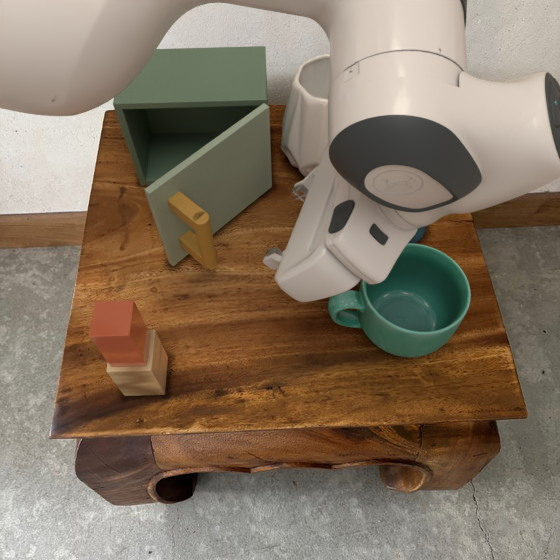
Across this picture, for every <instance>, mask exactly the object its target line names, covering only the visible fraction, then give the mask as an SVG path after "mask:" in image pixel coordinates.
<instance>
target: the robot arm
mask: <svg viewBox="0 0 560 560" xmlns="http://www.w3.org/2000/svg"><path fill="white" fill-rule="evenodd" d="M207 4H228V5H234V6H240V7H245V8H252V9H257V10H262V11H268V12H274V13H280V14H286V15H291V16H297V17H303V18H307V19H310V20H312V21H314V22H315V23H316V24H318V26H320V28H321V29H322V30H323V32H324V34H325V35H326V38H327V40H328V43H329V54H330V90H329V94H328V143H327V146H326V148H325V151H324V153H323V156H322V158H321V161H320V163H319V166H317V167H316V168H315V169H314V170H313V171H312V172H311V173H309V174H308V175H307V176H306V177H305V176H304V178H303V179H302V180H300V181H298V182H296V183H294V185H293V187H292V190H291V193H290V197H292V198H293V199H294V201H296V202H297V203H298V204H302V203H303V204H302V207H301V209H300V211H299V214H298V216H297V219H296V222H295V224H294V227H293V229H292V232H291V235H290V237H289V239H288V243H287V244H286V247H285V249H284V250H283V251H282V250H281V249H280V248H278V247H277V246H274V247H272V248H268V249H267V250H266V252H265V254H264V257H263V259H262V264H264V265H265V266H266V267H267V268H269V269H270V270H273V271H276V272H275V275H274V281H275V283H276V284H277V286H278V287H279V288H280V289H281V290H282V291H283V292H284V293H285V294H286V295H288V296H289V297H290V298H292V299H294V300H296V301H297V302H299V303H309V302H314V301H319V300H323V299H329V298H330V297H331V296H335V295H338V294H341V293H343V292H346V291H348V290H352V289H353V288H354V287H355V286H357V285H358V284H360V282H361V280H364V281H365V282H366V283H368V284H377V283H380V282H382V281H384V280H385V279H386V277H387V276H388V275H389V273H390V271H391V269H392V267H393V266H394V264H395V262H396V260H397V259H398V257H399V255H400V254H401V252H402V251H403V249H404V248H405V247H406V245H407V244H408V243H409V241H410V240H411V239H412V238H413V237H414V235H415V234H416V232H417V230H418V228H421V227H424V226H426V227H427V226H429V225H432V224H434V223H436V222H437V221H439V220H440V219H441V218H443V217H445V216H449V215H454V214H456V215H458V214H459V215H460V214H461V215H464V214H466V215H467V214H471V213H475V212H478V211H481V210H485V209H488V208H491V207H494V206H497V205H501V204H503V203H507V202H508V201H512V200H514V199H517V198H520V197H522V196H525V195H527V194H529V193H531V192H534V191H536V190H538V189H540V188H542V187H544V186H546V185H548V184H550V183H552V182H554V181H555V180H557V179H560V83H559V81H558V79H556V78H555V77H554V76H553V75H552V73H550V72H549V71H546V70H543V71H542V70H541V71H535V72H532V73H528V74H523V75H520V76H517V77H514V78H511V79H507V80H504V81H502V82H501V81H493V80H486V79H482V78H479V77H476V76H474V75H472V74H469V71H468V59H467V42H466V27H467V26H466V25H467V13H468V0H0V109H3V110H7V111H11V112H16V113H22V114H27V115H34V116H46V117H74V116H77V115H80V114H81V115H82V114H84V113H87V112H89V111H92V110H94V109H96V108H99V107H101V106H103V105H104V104H106V103H108V102H109V101H111V100H114V97H115V96H117V95H118V94H119V93H121V92H122V91H123V90H124V89H125V88H126V87H128V86H129V85H130V83H131V82H132V81H133V80H134V79H135V78H136V77H137V76H138V75H139V74H140V72H141V71H142V70H143V69H144V67H145V66H146V64H147V63H148V61H149V60H150V58H151V57H152V55H153V53H154V52H155V50H156V49H158V47H159V45H160V44H161V43H162V41H163V39H164V38H165V36H166V34H167V33H168V32H169V30H170V29H171V28H172V27H173V26H174V25H175V24H176V22H177V21H178V20H179V19H181V18H182V17H183V16H184V15H185V14H186V13H187V12H189V11H192V10H194V9H196V8H197V7H200V6H204V5H207Z"/></svg>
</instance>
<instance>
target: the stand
mask: <svg viewBox="0 0 560 560" xmlns="http://www.w3.org/2000/svg"><path fill="white" fill-rule="evenodd" d="M148 330H149V332H150V342H149V352H148V361H147V366H133V367H111V366H110V365H109V363H108V362H107V361H106V362H107V364H106V370H105V372H106V373H107V375H108V376H109V377H110V379H111V380H112V382H113V383H114V384H115V386H116V387H117V388H118V389H119V391H120V392H121V393H122V395H123V396H124V397H134V396H135V397H136V396H137V397H138V396H139V397H140V396H164V395H166V386H167V376H168V363H169V356H168V354H167V352H166V350H165V348H164V346H163V344H162V341H161V340H160V337H159V335H158V333H157V331H156V329H148Z"/></svg>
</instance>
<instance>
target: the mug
mask: <svg viewBox="0 0 560 560" xmlns="http://www.w3.org/2000/svg"><path fill="white" fill-rule="evenodd" d="M359 284H360V285H359V289H358V290H353V289H350V290H348V291H346V292H343V293H341V294H338V295H335V296H331V297H329V298H328V301H327V310H328V314H329V316H330V318H331V320H332V321H333V322H334V323H335V324H337V325H339V326H343V327H347V328H353V329H354V328H355V329H362V331H363V333H364V334H365V335H366V337H367V338H368V339H369V340H370V341H371V342H372V343H373V344H374V345H375V346H376V347H378V348H379V349H381V350H383V352H386V353H388V354H391V355H394V356H396V357H402V358H421V357H424V356H427V355H430V354H432V353H435V352H436V351H438V350H439V349H441V348H442V347H443V346H444V345H446V344H447V343H448V342H449V340H450V339H451V338H452V337H453V335H454V334H455V333H456V332H457V330H458V329H459V326H460V325H461V323H462V321H463V320H464V318H465V316H466V314H467V312H468V311H469V308H470V304H471V297H472V293H471V286H470V282H469V279H468V278H467V275H466V274H465V272H464V271H463V268H462V267H461V266H460V265H459V264H458V263H457V262H456V261H455V260H454V259H453V258H452V257H450V256H449V255H448V254H446V253H445V252H444V251H441V250H439V249H437V248H435V247H432V246H429V245H425V244H422V243H421V244H420V243H415V244H414V243H408V244H407V245H406V247H405V248H404V249H403V251H402V252H401V254H400V255H399V257H398V259H397V260H396V262H395V264H394V266H393V267H392V269H391V271H390V273H389V275H388V276H387V277H386V279H385V280H384V281H382V282H380V283H377V284H368V283H366V282H365V281H364V280H362V279H361V280H360V283H359Z"/></svg>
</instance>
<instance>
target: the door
mask: <svg viewBox="0 0 560 560" xmlns="http://www.w3.org/2000/svg"><path fill="white" fill-rule="evenodd" d="M270 117H271V116H270V106H269V105H266V104H265V103H263V104H262V105H261V106H259V107H258V108H256V109H255V110H254V111H252V112H251V113H249V114H248V115H247V116H245V117H244V118H243V119H241V120H240V121H238V122H237V123H236V124H234V125H233V126H231V127H230V128H229V129H227V130H226V131H225V132H223V133H222V134H220V135H219V136H218V137H216V138H215V139H213V140H212V141H211V142H209V143H208V144H206V145H205V146H204V147H202V148H201V149H200V150H198V151H197V152H195V153H194V154H193V155H191V156H190V157H188V158H187V159H186V160H184V161H183V162H182V163H180V164H179V165H177V166H176V167H175V168H173V169H172V170H170V171H169V172H168V173H166V174H165V175H163V176H162V177H161V178H159V179H158V180H157V181H155V182H154V183H152V184H151V185H147V186H146V187H145V188H144V189H143V190H144V194H145V197H146V200H147V203H148V205H149V209H150V212H151V214H152V218H153V220H154V223H155V226H156V229H157V232H158V235H159V238H160V241H161V244H162V248H163V250H164V253H165V256H166V258H167V261H168V264H169V265H171V266H172V267H175V266H176V265H178V264H179V263H180V262H181V261H182V260H183V259H184V258H186V257H187V256H188V255H189V256H191V257H192V258H193V259H194V260H195V261H197V262H198V263H199V264H200V265H202V267H204V268H205V269H207V270H213V269H216V268H217V266H218V265H219V259H218V255H217V254H218V253H217V249H216V244H215V240H214V234H215V233H217V232H218V231H219V230H220V229H221V228H223V227H224V226H225V225H226V224H228V223H229V222H230V221H232V220H233V219H234V218H235V217H236V216H238V215H239V214H241V213H242V212H243V211H244V210H245V209H246V208H247V207H249V206H250V205H251V204H253V203H254V202H255V201H256V200H257V199H259V198H260V197H262V195H264V194H265V193H266V192H268V191H269V190H270V189H271V188H273V177H272V172H273V171H272V146H271V144H272V143H271V121H270V119H271V118H270Z"/></svg>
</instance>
